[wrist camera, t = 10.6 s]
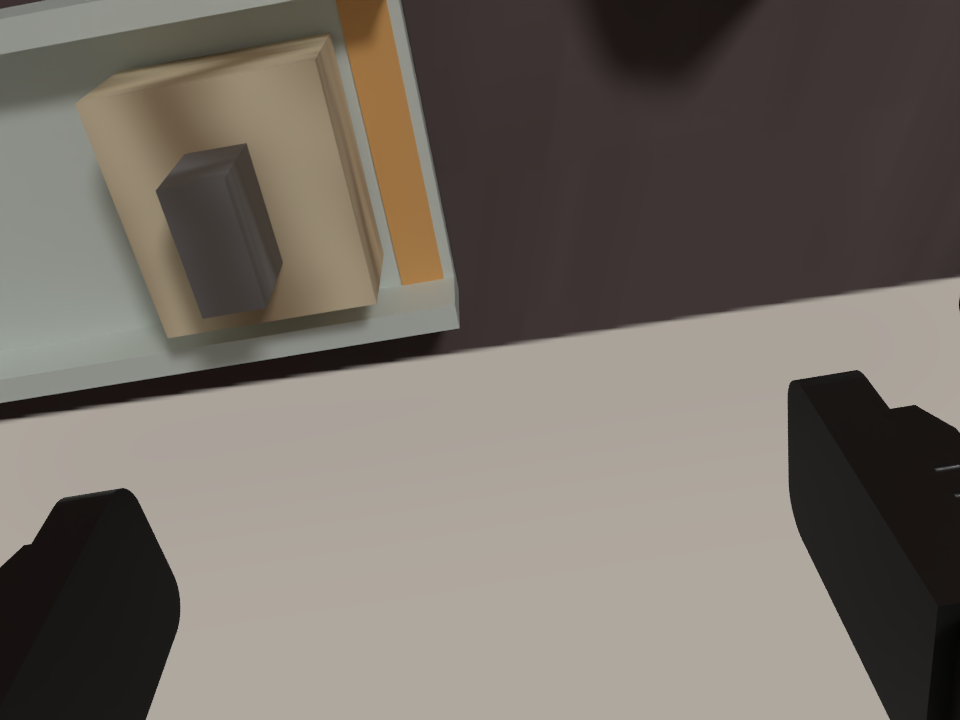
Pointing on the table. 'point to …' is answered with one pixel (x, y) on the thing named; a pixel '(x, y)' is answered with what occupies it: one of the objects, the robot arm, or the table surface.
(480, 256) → the table surface
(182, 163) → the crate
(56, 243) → the bay
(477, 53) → the table surface
